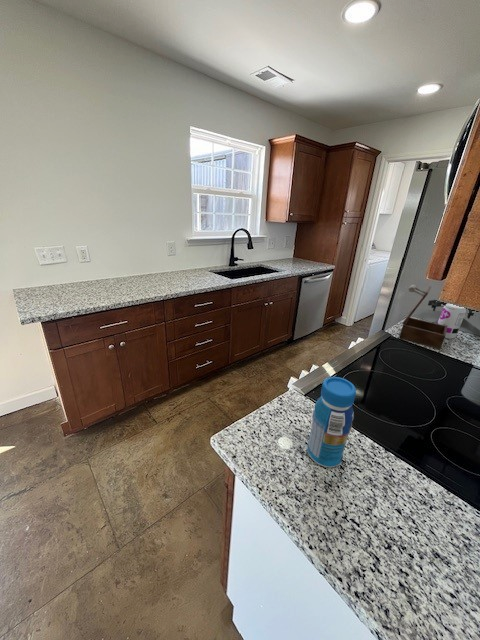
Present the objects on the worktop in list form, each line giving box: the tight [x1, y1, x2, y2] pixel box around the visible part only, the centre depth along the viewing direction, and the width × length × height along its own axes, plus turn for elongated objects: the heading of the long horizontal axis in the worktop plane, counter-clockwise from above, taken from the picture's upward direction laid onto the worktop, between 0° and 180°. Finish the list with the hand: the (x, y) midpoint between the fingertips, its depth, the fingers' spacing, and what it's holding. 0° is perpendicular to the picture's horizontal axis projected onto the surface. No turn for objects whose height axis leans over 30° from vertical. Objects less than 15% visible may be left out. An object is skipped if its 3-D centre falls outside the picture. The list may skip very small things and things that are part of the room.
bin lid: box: [402, 284, 432, 325], centre depth 119 cm, size 16×13×7 cm
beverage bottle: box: [306, 376, 357, 468], centre depth 59 cm, size 8×8×20 cm
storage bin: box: [398, 316, 447, 351], centre depth 119 cm, size 16×13×7 cm
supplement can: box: [437, 303, 467, 340], centre depth 122 cm, size 8×8×15 cm
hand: (451, 312), depth 127 cm, fingers open, 13 cm apart
